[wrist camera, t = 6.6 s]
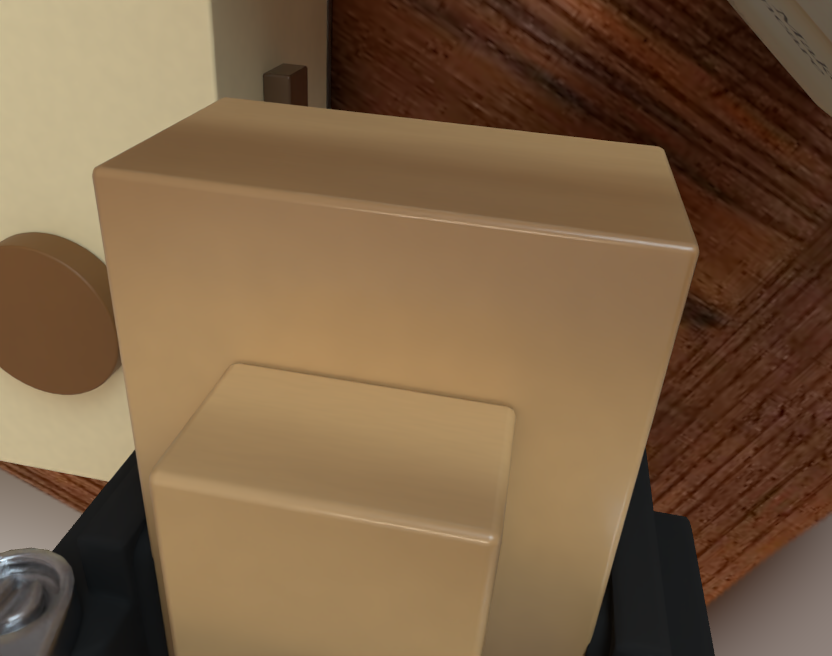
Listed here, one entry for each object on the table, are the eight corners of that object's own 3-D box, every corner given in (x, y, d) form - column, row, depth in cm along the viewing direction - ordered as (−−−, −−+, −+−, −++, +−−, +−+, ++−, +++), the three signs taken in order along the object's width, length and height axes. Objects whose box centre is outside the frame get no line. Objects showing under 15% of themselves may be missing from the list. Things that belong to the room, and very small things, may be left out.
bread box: (354, -49, 18) (242, -27, 12) (345, 365, 24) (267, 515, 18) (32, -77, 19) (-213, -69, 13) (100, 325, 26) (-48, 453, 20)
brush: (271, 67, 9) (-59, 245, 4) (652, 108, 8) (746, 363, 4) (290, 655, 15) (152, 1012, 10) (520, 703, 14) (492, 1108, 9)
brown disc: (126, 243, 15) (104, 259, 15) (146, 388, 17) (128, 408, 16) (-33, 220, 16) (-60, 235, 15) (4, 363, 18) (-20, 381, 17)
